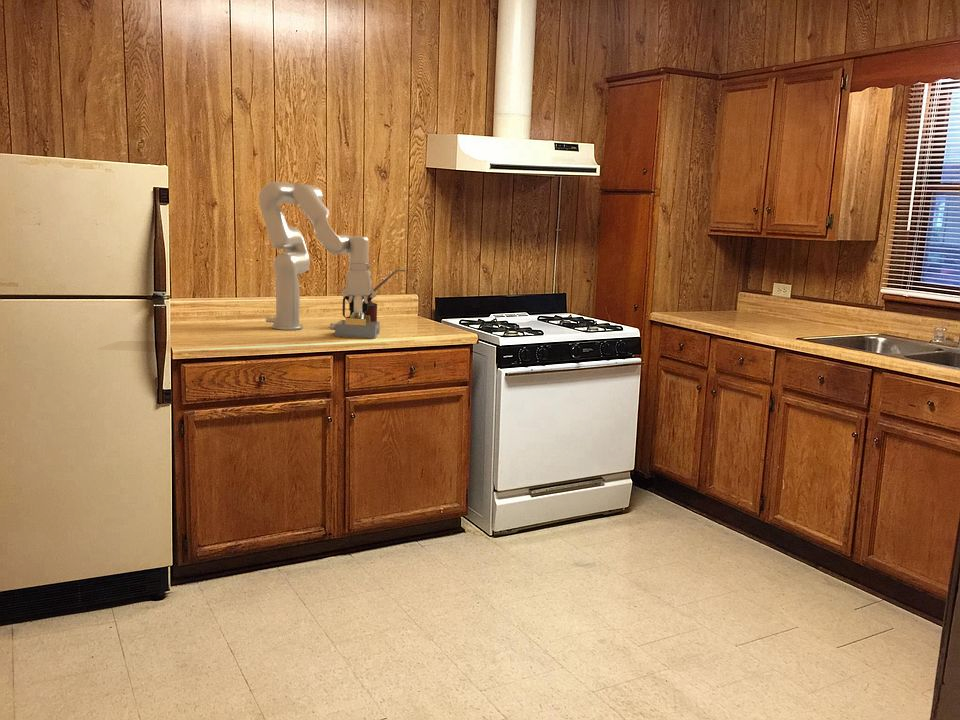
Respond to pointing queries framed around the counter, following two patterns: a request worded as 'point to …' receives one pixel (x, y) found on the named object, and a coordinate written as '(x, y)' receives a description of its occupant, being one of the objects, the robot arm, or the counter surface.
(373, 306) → the oil can
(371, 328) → the gearbox
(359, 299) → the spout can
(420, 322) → the counter surface
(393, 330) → the counter surface
